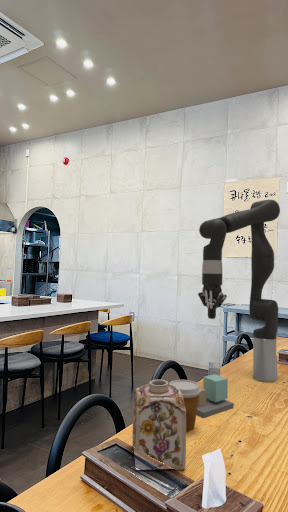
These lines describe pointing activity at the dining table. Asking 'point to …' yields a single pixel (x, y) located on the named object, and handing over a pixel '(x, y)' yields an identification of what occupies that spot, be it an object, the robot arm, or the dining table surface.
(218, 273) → the robot arm
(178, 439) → the decorative jar
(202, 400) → the post stand
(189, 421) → the disposable coffee cup
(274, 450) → the dining table surface
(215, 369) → the medicine box
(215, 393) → the sage green cube
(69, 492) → the dining table surface
